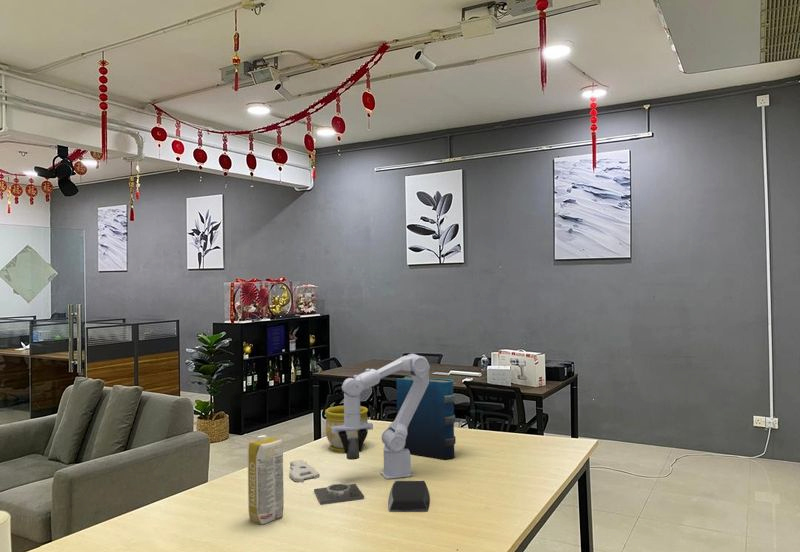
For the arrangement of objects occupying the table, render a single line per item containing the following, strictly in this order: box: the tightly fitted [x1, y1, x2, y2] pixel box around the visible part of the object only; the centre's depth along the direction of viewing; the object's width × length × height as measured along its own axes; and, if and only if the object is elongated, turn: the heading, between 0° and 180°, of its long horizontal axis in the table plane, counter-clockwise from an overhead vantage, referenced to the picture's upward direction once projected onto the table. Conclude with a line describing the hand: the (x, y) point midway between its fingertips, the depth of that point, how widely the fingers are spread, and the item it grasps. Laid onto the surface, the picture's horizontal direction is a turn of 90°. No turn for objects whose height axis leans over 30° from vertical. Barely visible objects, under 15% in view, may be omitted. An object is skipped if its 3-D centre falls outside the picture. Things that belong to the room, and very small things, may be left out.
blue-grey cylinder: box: [345, 437, 360, 461], centre depth 202 cm, size 4×4×7 cm
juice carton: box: [247, 434, 285, 525], centre depth 170 cm, size 9×8×24 cm
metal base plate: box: [313, 483, 365, 505], centre depth 187 cm, size 14×12×2 cm
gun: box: [288, 459, 320, 483], centre depth 210 cm, size 18×4×10 cm
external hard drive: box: [387, 480, 431, 513], centre depth 182 cm, size 13×19×4 cm
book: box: [395, 375, 457, 461], centre depth 233 cm, size 24×9×30 cm, turn 58°
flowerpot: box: [324, 405, 369, 454], centre depth 242 cm, size 18×18×16 cm
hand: (352, 451), depth 202 cm, fingers closed on blue-grey cylinder, 4 cm apart
